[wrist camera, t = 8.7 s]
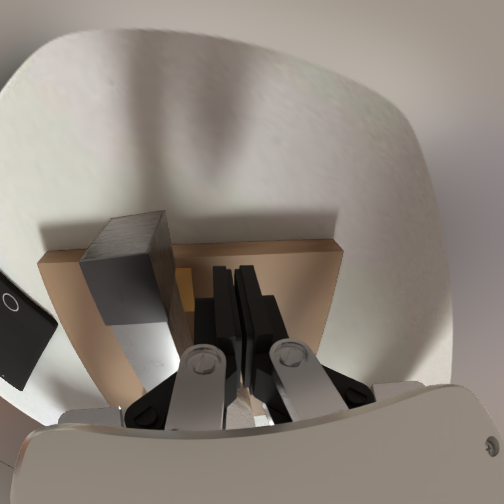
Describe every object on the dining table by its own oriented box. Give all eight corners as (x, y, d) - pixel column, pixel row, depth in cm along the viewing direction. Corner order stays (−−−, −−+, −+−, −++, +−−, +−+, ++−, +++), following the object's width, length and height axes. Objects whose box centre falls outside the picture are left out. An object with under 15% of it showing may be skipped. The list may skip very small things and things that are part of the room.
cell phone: (61, 319, 16) (57, 328, 16) (23, 387, 20) (21, 392, 20) (-17, 249, 12) (-23, 255, 12) (-29, 344, 16) (-32, 349, 16)
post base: (333, 239, 16) (364, 275, 13) (293, 398, 25) (303, 430, 21) (47, 251, 13) (17, 287, 10) (120, 405, 22) (116, 437, 19)
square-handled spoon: (251, 415, 18) (258, 451, 15) (160, 421, 17) (160, 457, 14) (230, 202, 10) (241, 242, 7) (61, 227, 9) (22, 269, 6)
